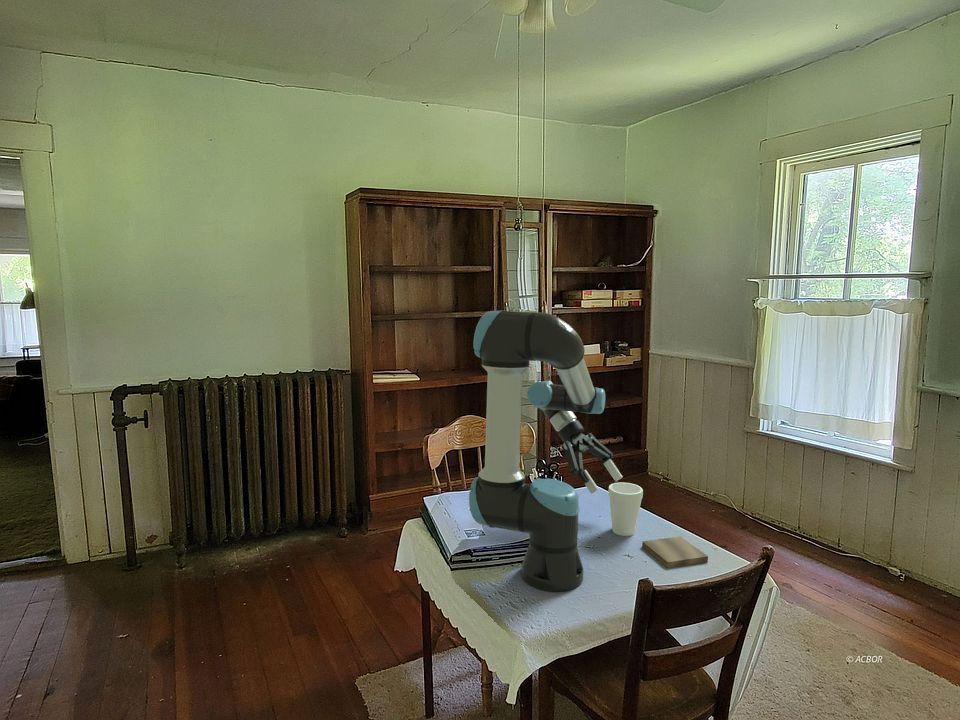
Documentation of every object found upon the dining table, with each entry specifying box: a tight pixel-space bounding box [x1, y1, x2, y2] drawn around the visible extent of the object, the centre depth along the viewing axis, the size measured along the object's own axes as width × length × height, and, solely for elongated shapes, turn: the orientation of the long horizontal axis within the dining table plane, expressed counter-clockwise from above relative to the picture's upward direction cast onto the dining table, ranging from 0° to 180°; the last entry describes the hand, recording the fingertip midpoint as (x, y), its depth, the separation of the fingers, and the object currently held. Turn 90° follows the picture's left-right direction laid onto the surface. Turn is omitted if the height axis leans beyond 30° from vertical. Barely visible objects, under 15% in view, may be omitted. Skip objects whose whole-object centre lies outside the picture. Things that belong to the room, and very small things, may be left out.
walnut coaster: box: [641, 536, 709, 569], centre depth 160 cm, size 12×12×2 cm
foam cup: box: [608, 481, 644, 537], centre depth 173 cm, size 10×9×13 cm
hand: (607, 485), depth 177 cm, fingers open, 13 cm apart
